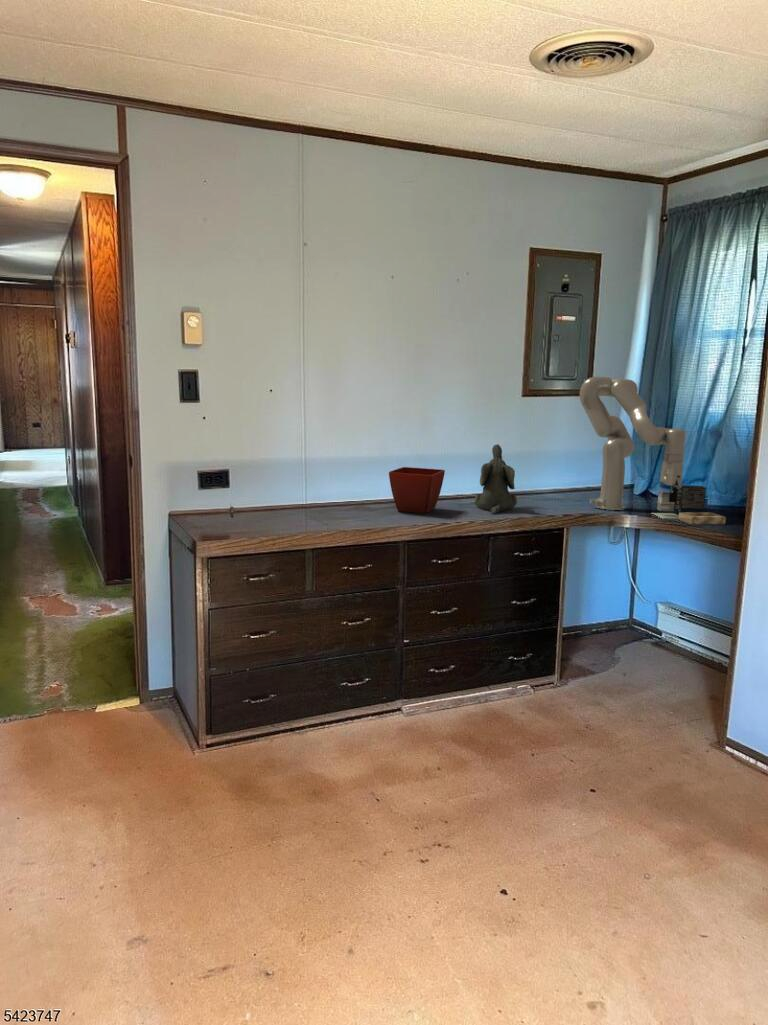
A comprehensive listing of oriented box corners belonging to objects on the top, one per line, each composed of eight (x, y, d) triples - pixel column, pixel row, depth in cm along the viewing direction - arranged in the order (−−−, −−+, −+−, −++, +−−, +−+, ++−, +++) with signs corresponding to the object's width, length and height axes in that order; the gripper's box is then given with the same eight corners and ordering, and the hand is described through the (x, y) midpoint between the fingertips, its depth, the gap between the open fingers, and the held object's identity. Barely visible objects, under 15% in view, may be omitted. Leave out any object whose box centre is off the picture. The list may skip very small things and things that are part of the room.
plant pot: (386, 511, 316) (387, 471, 313) (402, 504, 334) (403, 466, 331) (430, 516, 310) (431, 475, 306) (443, 508, 327) (445, 469, 324)
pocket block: (691, 524, 310) (692, 517, 309) (678, 519, 319) (679, 512, 319) (725, 524, 312) (725, 517, 312) (711, 519, 322) (711, 512, 321)
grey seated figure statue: (493, 503, 345) (497, 443, 340) (526, 511, 328) (530, 448, 323) (461, 506, 334) (464, 444, 329) (493, 514, 317) (497, 450, 312)
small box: (700, 507, 350) (702, 485, 348) (704, 510, 343) (707, 487, 341) (676, 506, 351) (678, 484, 349) (680, 509, 344) (682, 486, 342)
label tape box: (660, 511, 322) (663, 483, 320) (656, 509, 326) (659, 481, 324) (680, 511, 323) (683, 483, 320) (676, 509, 327) (679, 481, 324)
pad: (662, 519, 319) (662, 517, 319) (650, 514, 329) (651, 513, 329) (684, 518, 321) (684, 517, 321) (672, 514, 331) (672, 513, 330)
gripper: (655, 456, 328) (651, 497, 331) (676, 460, 311) (671, 504, 315) (671, 456, 329) (667, 497, 332) (692, 460, 313) (688, 504, 316)
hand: (669, 500), depth 324 cm, fingers closed on label tape box, 4 cm apart
